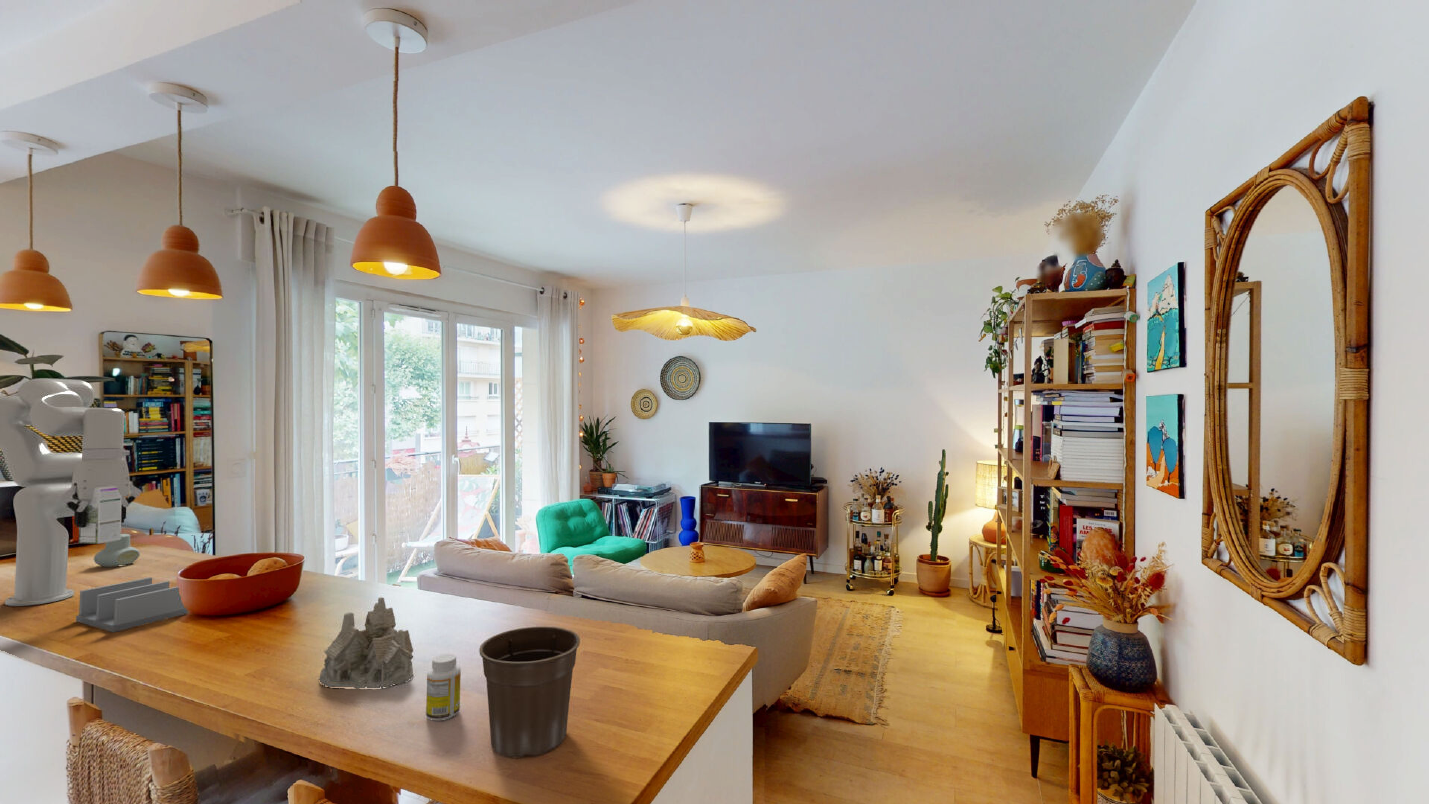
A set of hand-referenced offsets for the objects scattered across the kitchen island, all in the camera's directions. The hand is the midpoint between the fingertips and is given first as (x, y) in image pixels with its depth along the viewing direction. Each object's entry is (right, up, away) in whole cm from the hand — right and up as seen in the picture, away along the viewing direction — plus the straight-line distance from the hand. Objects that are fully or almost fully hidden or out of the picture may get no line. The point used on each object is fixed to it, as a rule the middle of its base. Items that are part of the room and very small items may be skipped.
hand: (100, 524), depth 155 cm
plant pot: (+127, -25, -54) cm, 140 cm away
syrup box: (0, -5, 0) cm, 5 cm away
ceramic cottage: (+88, -25, -32) cm, 97 cm away
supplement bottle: (+110, -25, -47) cm, 122 cm away
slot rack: (+10, -23, -2) cm, 26 cm away
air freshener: (-42, -24, +47) cm, 67 cm away
